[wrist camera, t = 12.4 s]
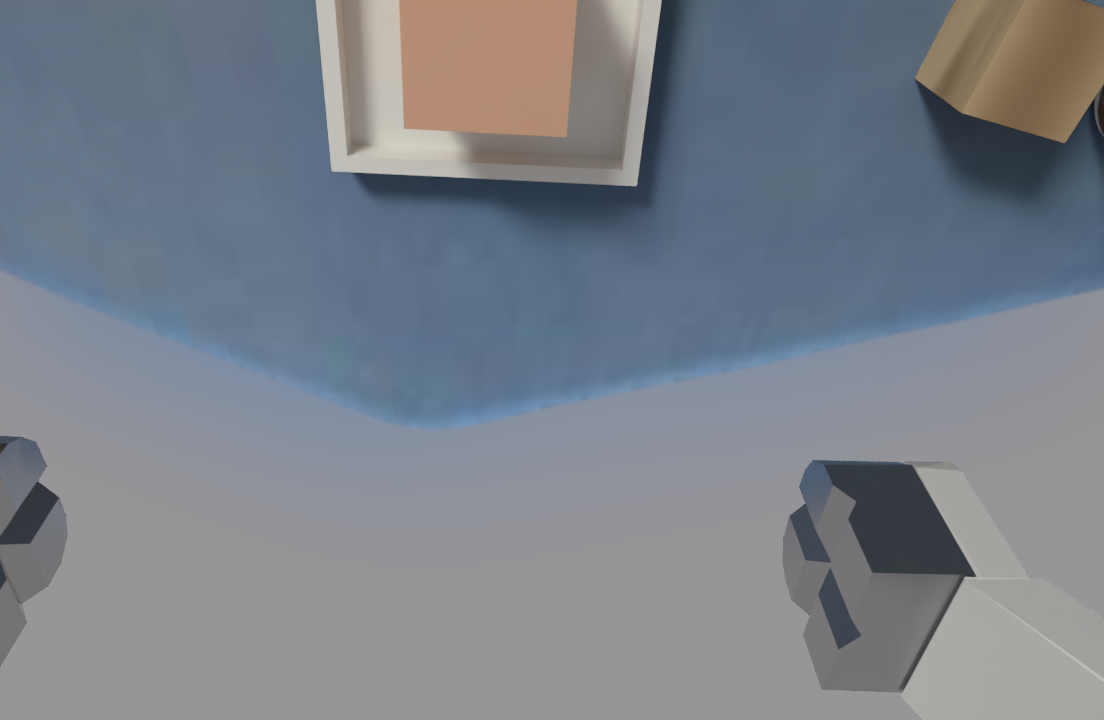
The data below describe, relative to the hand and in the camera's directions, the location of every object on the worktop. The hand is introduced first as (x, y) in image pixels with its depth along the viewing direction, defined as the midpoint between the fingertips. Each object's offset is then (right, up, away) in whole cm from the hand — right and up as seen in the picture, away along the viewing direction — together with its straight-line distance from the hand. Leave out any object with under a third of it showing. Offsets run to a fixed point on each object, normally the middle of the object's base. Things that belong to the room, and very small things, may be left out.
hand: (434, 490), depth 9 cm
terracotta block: (-1, +13, +19) cm, 23 cm away
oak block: (+17, +13, +21) cm, 30 cm away
